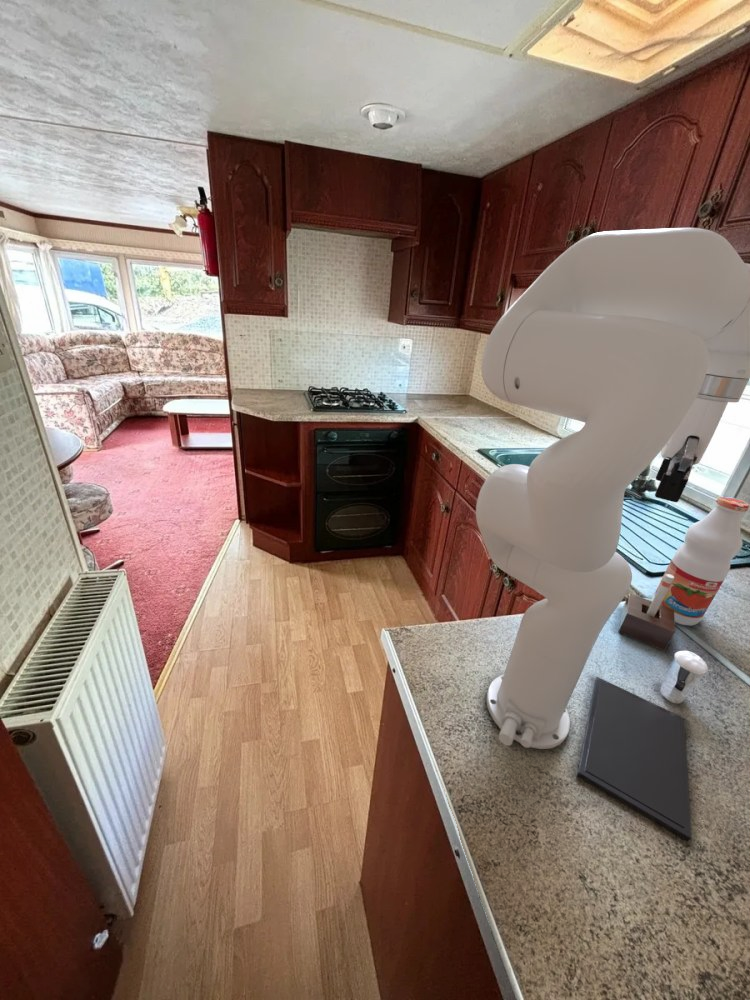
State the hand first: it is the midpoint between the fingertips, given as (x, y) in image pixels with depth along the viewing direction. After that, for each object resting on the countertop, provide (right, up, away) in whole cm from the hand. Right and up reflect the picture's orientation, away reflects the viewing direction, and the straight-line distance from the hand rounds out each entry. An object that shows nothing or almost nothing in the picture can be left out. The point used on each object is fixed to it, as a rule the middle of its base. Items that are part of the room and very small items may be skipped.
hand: (665, 490), depth 68 cm
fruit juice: (+18, -27, +23) cm, 40 cm away
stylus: (+7, -29, +16) cm, 34 cm away
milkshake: (+2, -36, +1) cm, 36 cm away
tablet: (-10, -39, -8) cm, 41 cm away
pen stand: (+7, -29, +16) cm, 34 cm away
